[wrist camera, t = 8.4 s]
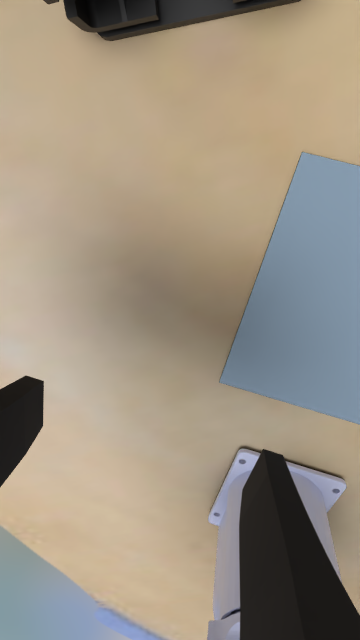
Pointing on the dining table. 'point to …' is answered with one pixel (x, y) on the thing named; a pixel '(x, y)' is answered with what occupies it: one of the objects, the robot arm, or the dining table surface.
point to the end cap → (152, 14)
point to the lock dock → (307, 298)
